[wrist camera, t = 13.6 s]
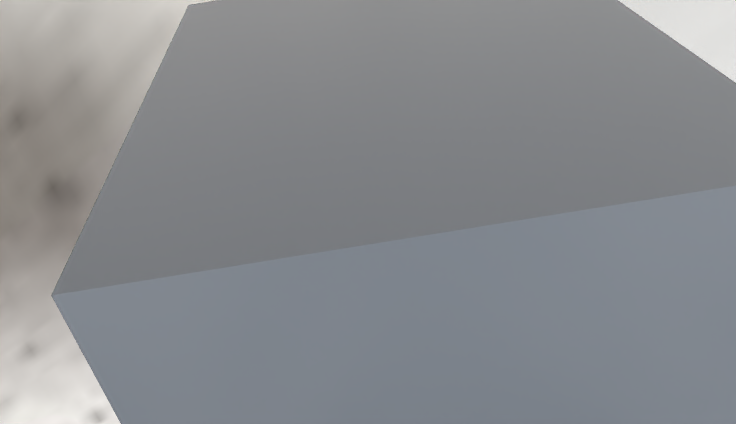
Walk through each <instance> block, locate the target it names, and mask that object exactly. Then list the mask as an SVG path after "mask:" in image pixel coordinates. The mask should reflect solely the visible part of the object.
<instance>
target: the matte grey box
mask: <svg viewBox="0 0 736 424" xmlns="http://www.w3.org/2000/svg"><path fill="white" fill-rule="evenodd" d="M51 296H52V297H53V299H54V301H55V303H56V305H57V307H58V308H59V310H60V312H61V314H62V316H63V318H64V320H65V321H66V323H67V325H68V327H69V329H70V331H71V332H72V334H73V336H74V338H75V340H76V342H77V343H78V345H79V347H80V349H81V351H82V353H83V355H84V356H85V358H86V360H87V362H88V364H89V366H90V367H91V369H92V371H93V373H94V375H95V377H96V379H97V380H98V382H99V384H100V386H101V388H102V390H103V391H104V393H105V395H106V397H107V399H108V401H109V402H110V404H111V406H112V408H113V410H114V412H115V414H116V415H117V417H118V419H119V421H120V423H121V424H736V83H735V82H734V81H732V80H731V79H729V78H728V77H726V76H725V75H724V74H722V73H721V72H719V71H718V70H716V69H715V68H714V67H712V66H711V65H709V64H708V63H706V62H705V61H704V60H702V59H701V58H699V57H698V56H696V55H695V54H694V53H692V52H691V51H689V50H688V49H686V48H685V47H684V46H682V45H681V44H679V43H678V42H676V41H675V40H674V39H672V38H671V37H669V36H668V35H666V34H665V33H664V32H662V31H661V30H659V29H658V28H656V27H655V26H654V25H652V24H651V23H649V22H648V21H646V20H645V19H644V18H642V17H641V16H639V15H638V14H636V13H635V12H634V11H632V10H631V9H629V8H628V7H626V6H625V5H624V4H622V3H621V2H619V1H618V0H217V1H211V2H205V3H198V4H192V5H188V7H187V10H186V12H185V14H184V16H183V18H182V20H181V22H180V24H179V27H178V29H177V31H176V33H175V35H174V37H173V39H172V41H171V43H170V46H169V48H168V50H167V52H166V54H165V56H164V58H163V60H162V62H161V65H160V67H159V69H158V71H157V73H156V75H155V77H154V79H153V82H152V84H151V86H150V88H149V90H148V92H147V94H146V96H145V98H144V101H143V103H142V105H141V107H140V109H139V111H138V113H137V115H136V117H135V120H134V122H133V124H132V126H131V128H130V130H129V132H128V134H127V137H126V139H125V141H124V143H123V145H122V147H121V149H120V151H119V153H118V156H117V158H116V160H115V162H114V164H113V166H112V168H111V170H110V173H109V175H108V177H107V179H106V181H105V183H104V185H103V187H102V189H101V192H100V194H99V196H98V198H97V200H96V202H95V204H94V206H93V208H92V211H91V213H90V215H89V217H88V219H87V221H86V223H85V225H84V228H83V230H82V232H81V234H80V236H79V238H78V240H77V242H76V244H75V247H74V249H73V251H72V253H71V255H70V257H69V259H68V261H67V263H66V266H65V268H64V270H63V272H62V274H61V276H60V278H59V280H58V283H57V285H56V287H55V289H54V291H53V293H52V295H51Z"/></svg>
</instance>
